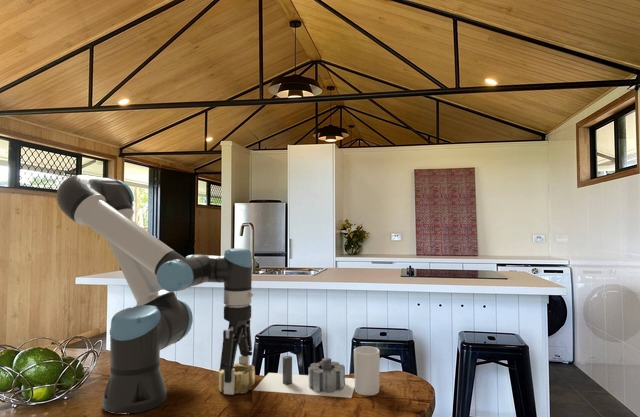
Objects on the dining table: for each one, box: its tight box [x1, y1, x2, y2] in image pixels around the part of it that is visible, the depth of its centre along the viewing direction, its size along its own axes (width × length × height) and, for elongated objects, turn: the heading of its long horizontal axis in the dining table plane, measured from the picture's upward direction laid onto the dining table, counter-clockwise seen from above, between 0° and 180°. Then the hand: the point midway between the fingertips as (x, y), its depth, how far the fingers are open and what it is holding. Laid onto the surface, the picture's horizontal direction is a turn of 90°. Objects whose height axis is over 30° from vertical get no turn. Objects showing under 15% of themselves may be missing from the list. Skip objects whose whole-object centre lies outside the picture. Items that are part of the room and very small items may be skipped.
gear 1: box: [218, 363, 256, 395], centre depth 119 cm, size 10×10×5 cm
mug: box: [353, 345, 381, 396], centre depth 115 cm, size 10×7×12 cm, turn 166°
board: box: [253, 355, 355, 399], centre depth 117 cm, size 26×13×8 cm, turn 79°
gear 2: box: [307, 360, 346, 393], centre depth 116 cm, size 10×10×5 cm
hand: (236, 386), depth 119 cm, fingers closed on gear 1, 10 cm apart
